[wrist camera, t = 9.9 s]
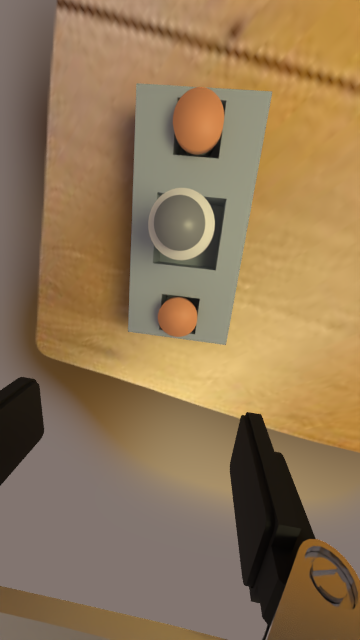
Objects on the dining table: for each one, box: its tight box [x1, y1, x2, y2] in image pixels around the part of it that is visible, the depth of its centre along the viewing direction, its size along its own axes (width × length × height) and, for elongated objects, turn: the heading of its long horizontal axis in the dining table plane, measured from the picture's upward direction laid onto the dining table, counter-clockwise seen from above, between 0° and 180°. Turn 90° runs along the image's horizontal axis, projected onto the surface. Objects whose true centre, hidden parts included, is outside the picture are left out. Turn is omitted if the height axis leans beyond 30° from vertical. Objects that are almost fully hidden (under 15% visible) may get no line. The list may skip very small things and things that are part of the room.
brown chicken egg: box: [173, 87, 224, 158], centre depth 21 cm, size 4×4×5 cm
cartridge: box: [148, 188, 215, 260], centre depth 21 cm, size 5×5×12 cm
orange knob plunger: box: [158, 296, 197, 337], centre depth 27 cm, size 4×4×5 cm
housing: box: [128, 83, 272, 345], centre depth 26 cm, size 24×12×5 cm, turn 174°
